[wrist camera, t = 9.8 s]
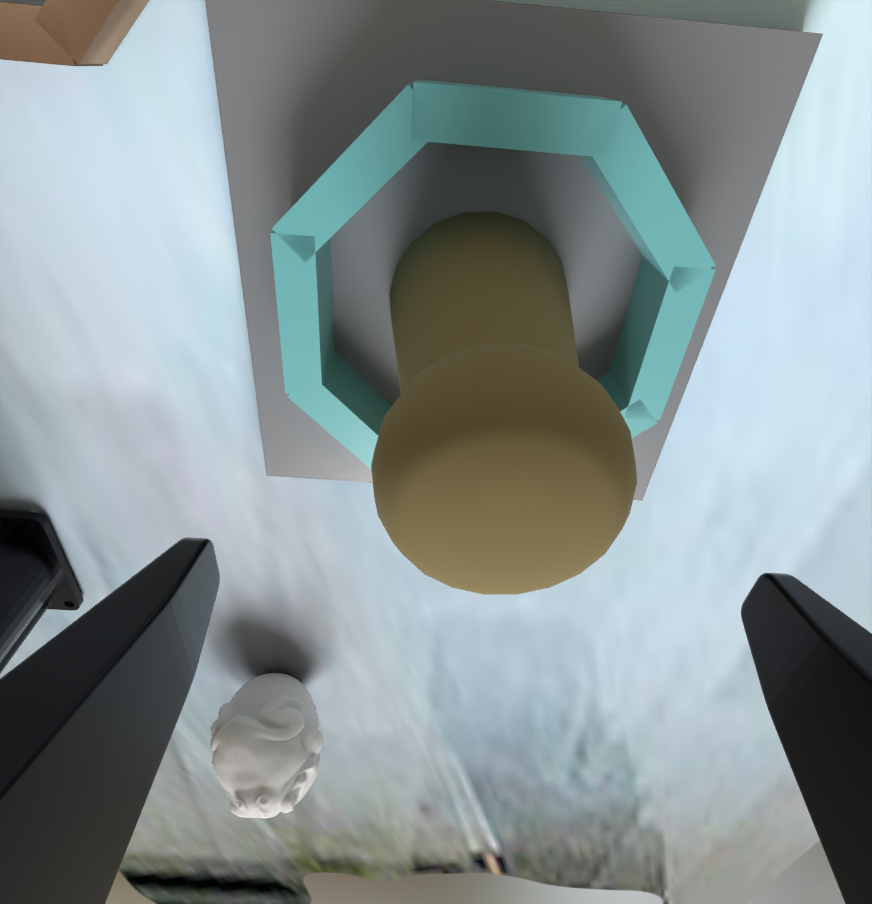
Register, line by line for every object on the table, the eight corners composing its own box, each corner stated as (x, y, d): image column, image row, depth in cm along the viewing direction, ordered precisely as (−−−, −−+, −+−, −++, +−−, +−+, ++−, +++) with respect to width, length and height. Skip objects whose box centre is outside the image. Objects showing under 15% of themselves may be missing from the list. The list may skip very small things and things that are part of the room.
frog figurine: (264, 718, 36) (230, 841, 30) (209, 657, 32) (159, 785, 27) (350, 705, 35) (332, 829, 29) (304, 640, 31) (273, 769, 25)
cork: (369, 230, 17) (288, 415, 8) (564, 193, 17) (704, 353, 8) (409, 395, 21) (382, 652, 12) (571, 370, 20) (673, 623, 11)
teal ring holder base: (635, 485, 24) (661, 541, 22) (272, 461, 24) (249, 515, 21) (802, 35, 15) (886, 29, 12) (215, -24, 15) (159, -44, 12)
